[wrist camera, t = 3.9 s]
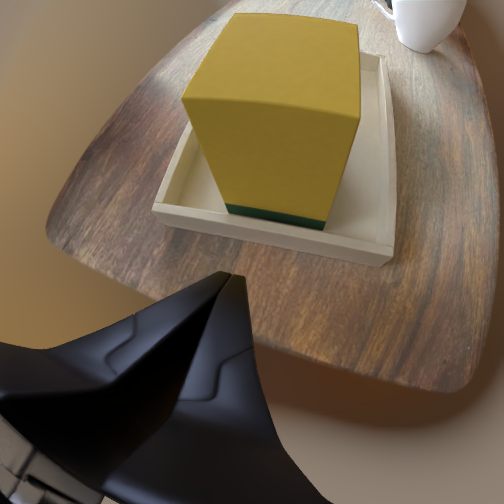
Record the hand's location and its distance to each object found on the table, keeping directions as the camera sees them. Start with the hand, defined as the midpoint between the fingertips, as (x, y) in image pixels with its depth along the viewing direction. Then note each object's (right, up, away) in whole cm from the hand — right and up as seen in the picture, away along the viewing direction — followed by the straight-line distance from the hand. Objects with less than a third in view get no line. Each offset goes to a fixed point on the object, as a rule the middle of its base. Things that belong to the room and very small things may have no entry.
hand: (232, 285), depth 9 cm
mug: (+19, +27, +15) cm, 36 cm away
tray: (+4, +10, +11) cm, 16 cm away
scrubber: (+3, +6, +10) cm, 12 cm away
